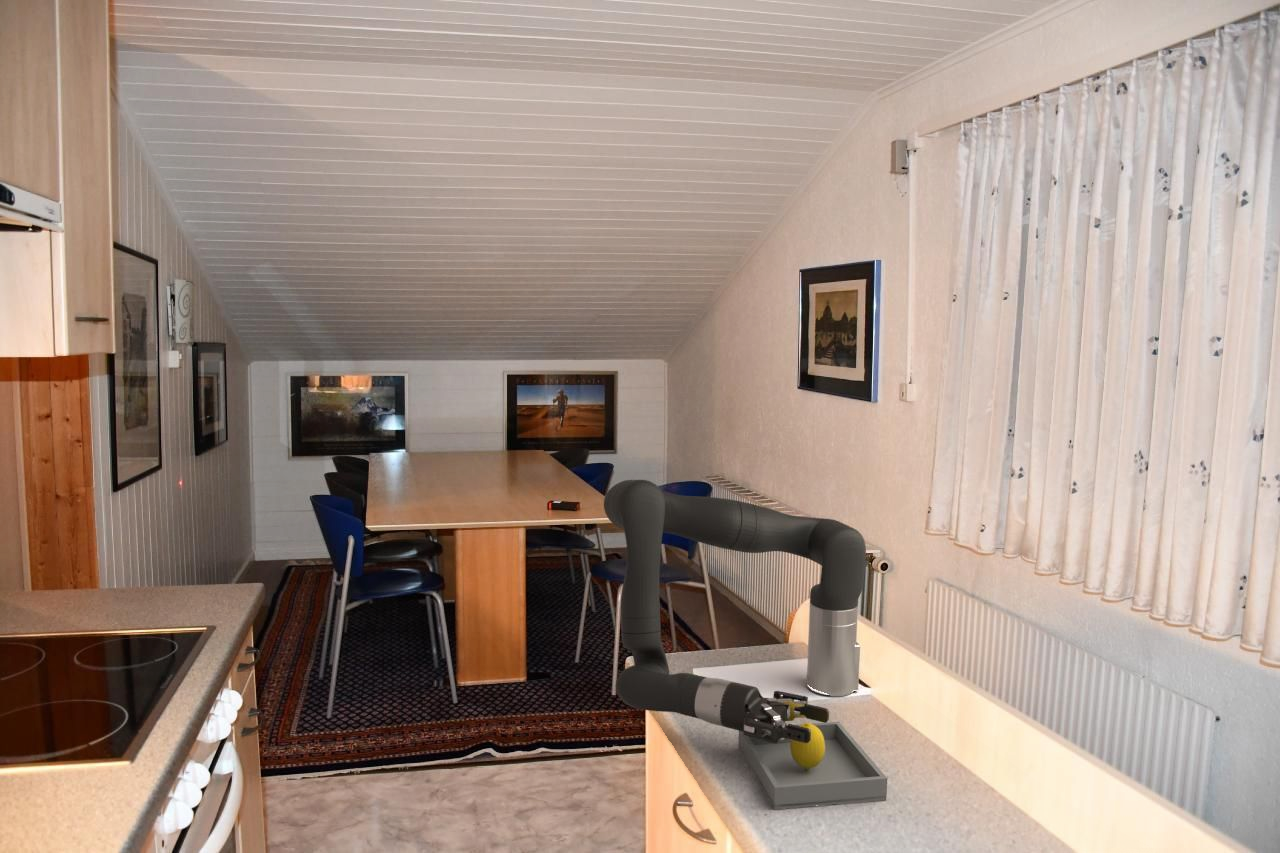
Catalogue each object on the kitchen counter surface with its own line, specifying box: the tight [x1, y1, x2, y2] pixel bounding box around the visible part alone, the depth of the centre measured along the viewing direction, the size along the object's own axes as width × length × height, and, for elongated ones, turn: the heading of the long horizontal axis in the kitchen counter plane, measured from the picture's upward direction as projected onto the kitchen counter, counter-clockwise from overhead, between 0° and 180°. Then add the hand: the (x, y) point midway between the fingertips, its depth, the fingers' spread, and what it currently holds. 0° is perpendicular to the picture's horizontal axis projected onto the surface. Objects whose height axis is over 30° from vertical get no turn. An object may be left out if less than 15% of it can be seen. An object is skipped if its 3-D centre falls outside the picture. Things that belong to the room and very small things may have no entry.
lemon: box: [790, 722, 825, 770], centre depth 159 cm, size 6×6×8 cm
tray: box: [737, 721, 888, 810], centre depth 160 cm, size 18×20×4 cm
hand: (819, 726), depth 158 cm, fingers open, 8 cm apart
